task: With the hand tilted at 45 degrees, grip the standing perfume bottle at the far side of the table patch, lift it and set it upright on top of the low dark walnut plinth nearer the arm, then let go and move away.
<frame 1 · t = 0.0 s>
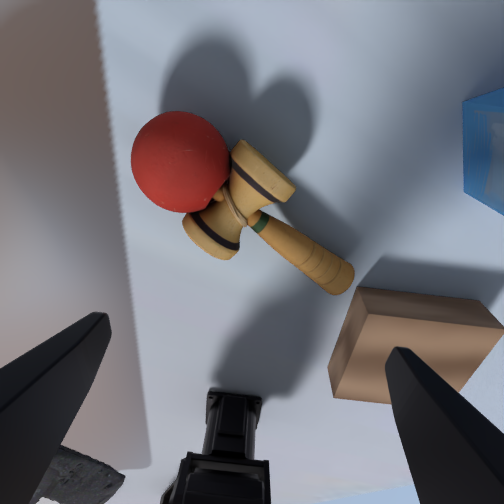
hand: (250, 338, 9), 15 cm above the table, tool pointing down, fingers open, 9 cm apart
phone stand: (186, 489, 49), on the table
kendama: (259, 203, 23), on the table
stegosaurus figurine: (53, 463, 48), on the table
walnut plinth: (396, 337, 29), on the table
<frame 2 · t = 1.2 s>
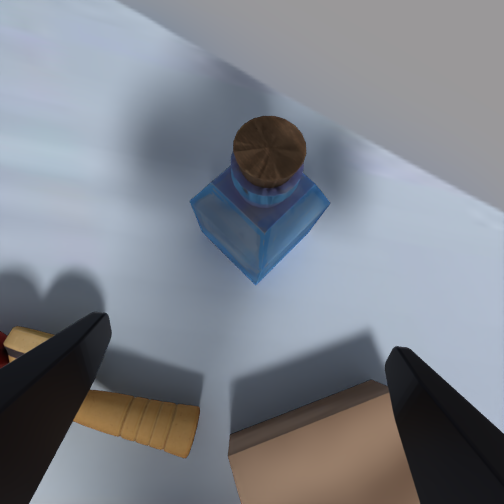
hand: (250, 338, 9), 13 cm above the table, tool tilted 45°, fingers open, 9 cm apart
perfume bottle: (255, 233, 24), on the table
kendama: (80, 387, 21), on the table
walnut plinth: (331, 490, 20), on the table
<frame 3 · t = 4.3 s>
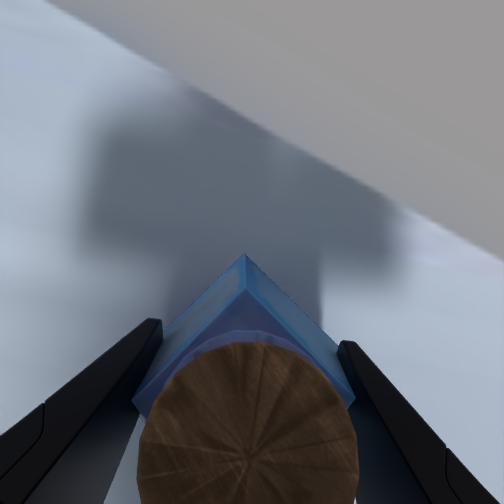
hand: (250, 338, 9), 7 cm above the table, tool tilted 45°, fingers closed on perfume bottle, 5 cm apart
perfume bottle: (242, 359, 16), on the table, touching gripper
when the fingers open (11 cm above the table, at t = 9.2 s): perfume bottle stays where it is, resting on walnut plinth.
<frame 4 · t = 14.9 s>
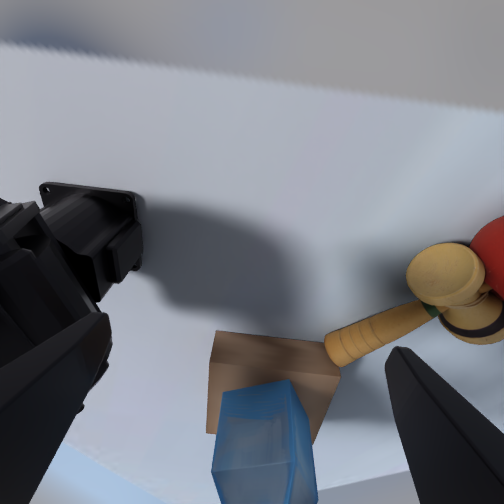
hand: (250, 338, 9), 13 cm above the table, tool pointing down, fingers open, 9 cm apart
perfume bottle: (267, 403, 27), point 3 cm above the table, touching walnut plinth
kendama: (417, 283, 24), on the table
walnut plinth: (266, 375, 30), on the table
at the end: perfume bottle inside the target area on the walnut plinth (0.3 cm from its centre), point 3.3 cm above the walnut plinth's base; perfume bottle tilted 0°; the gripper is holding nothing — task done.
